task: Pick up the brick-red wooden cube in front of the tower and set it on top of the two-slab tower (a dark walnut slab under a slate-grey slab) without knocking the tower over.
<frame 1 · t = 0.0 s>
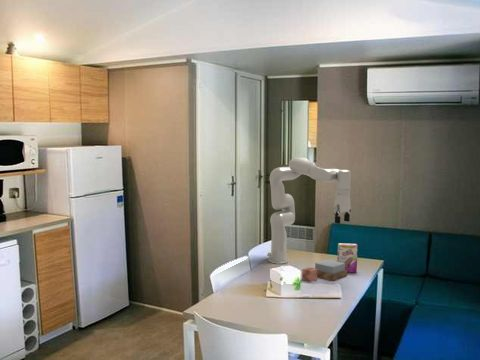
hand: (342, 222, 263), 31 cm above the table, tool pointing down, fingers open, 9 cm apart
brick-red cube: (309, 279, 260), on the table
candy bar box: (346, 271, 277), on the table
grey top slab: (329, 270, 267), point 3 cm above the table, touching walnut base slab
walnut base slab: (329, 276, 267), on the table, touching grey top slab
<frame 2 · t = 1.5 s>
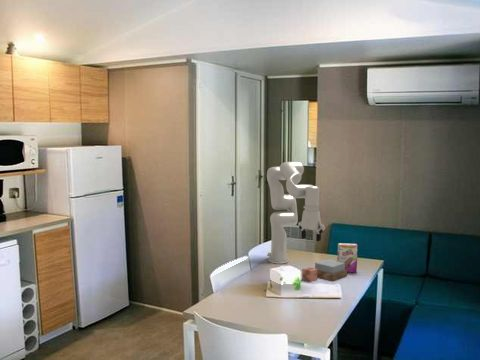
hand: (311, 239, 258), 22 cm above the table, tool pointing down, fingers open, 9 cm apart
nothing on the table moved.
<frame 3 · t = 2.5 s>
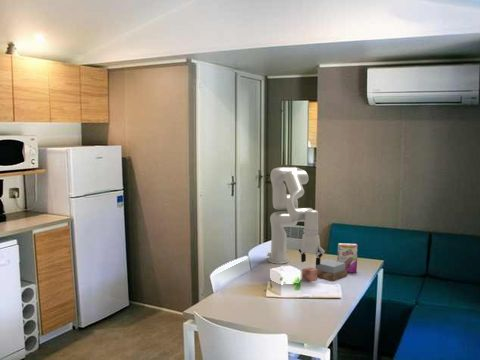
hand: (310, 263, 259), 9 cm above the table, tool pointing down, fingers open, 9 cm apart
grey top slab: (330, 269, 267), point 3 cm above the table
walnut base slab: (329, 276, 267), on the table
everything else where it was.
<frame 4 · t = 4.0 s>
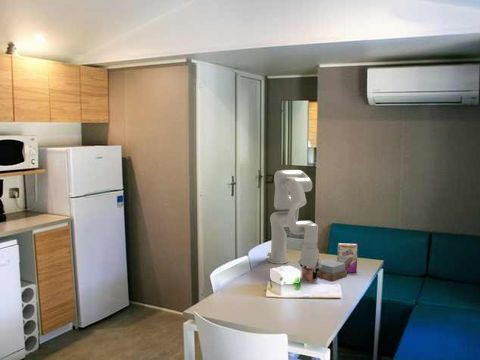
hand: (309, 277, 260), 1 cm above the table, tool pointing down, fingers closed on brick-red cube, 6 cm apart
brick-red cube: (309, 279, 260), on the table, touching gripper
grey top slab: (330, 270, 267), point 3 cm above the table, touching walnut base slab
walnut base slab: (329, 276, 267), on the table, touching grey top slab
everything else where it was.
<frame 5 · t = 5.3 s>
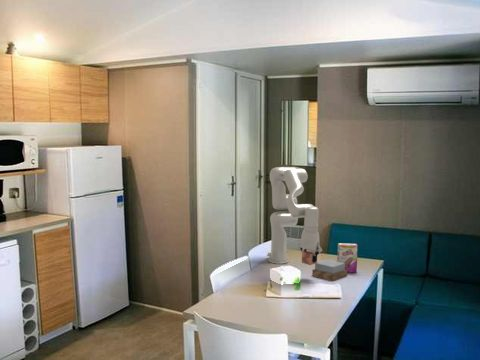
hand: (309, 260, 260), 10 cm above the table, tool pointing down, fingers closed on brick-red cube, 6 cm apart
brick-red cube: (309, 262, 260), point 9 cm above the table, touching gripper
everything else where it was.
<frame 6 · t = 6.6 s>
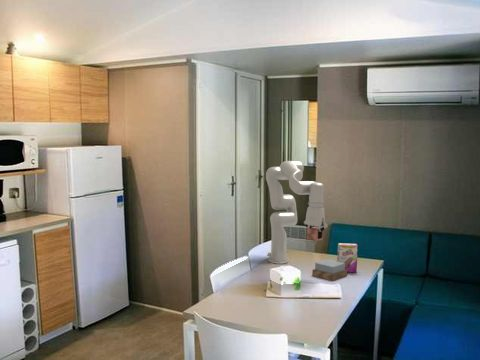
hand: (315, 237, 260), 23 cm above the table, tool pointing down, fingers closed on brick-red cube, 6 cm apart
brick-red cube: (314, 239, 260), point 22 cm above the table, touching gripper
everything else where it was.
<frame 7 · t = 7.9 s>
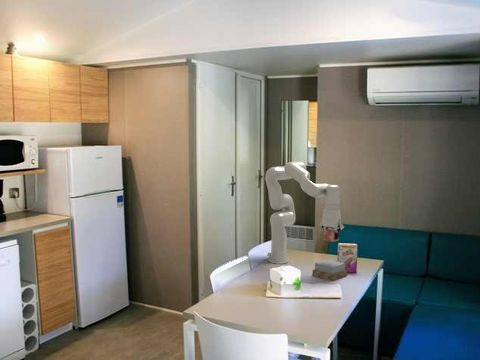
hand: (331, 238, 265), 22 cm above the table, tool pointing down, fingers closed on brick-red cube, 6 cm apart
brick-red cube: (331, 240, 265), point 21 cm above the table, touching gripper
everything else where it was.
when the fingers open (10 cm above the table, at t = 10.3 s): brick-red cube drops 2 cm, resting on grey top slab.
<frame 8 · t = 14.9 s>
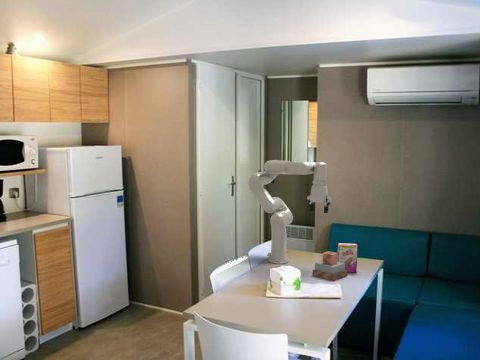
hand: (319, 211, 280), 34 cm above the table, tool pointing down, fingers open, 9 cm apart
brick-red cube: (329, 263, 266), point 7 cm above the table, touching grey top slab
grey top slab: (329, 270, 267), point 3 cm above the table, touching brick-red cube, walnut base slab
everything else where it was.
at the end: brick-red cube inside the target area on the walnut base slab (0.6 cm from its centre), point 8.0 cm above the walnut base slab's base; brick-red cube tilted 0°; grey top slab 0.1 cm off-centre on the walnut base slab, point 4.0 cm above the walnut base slab's base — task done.
